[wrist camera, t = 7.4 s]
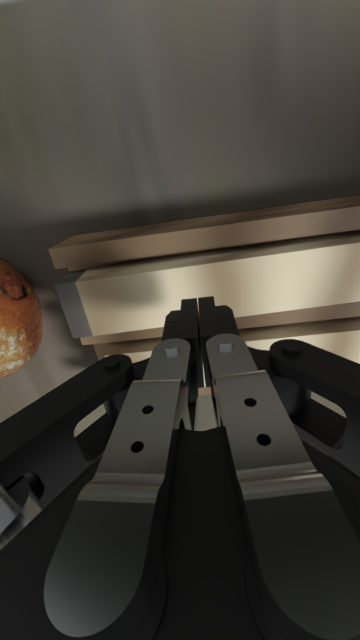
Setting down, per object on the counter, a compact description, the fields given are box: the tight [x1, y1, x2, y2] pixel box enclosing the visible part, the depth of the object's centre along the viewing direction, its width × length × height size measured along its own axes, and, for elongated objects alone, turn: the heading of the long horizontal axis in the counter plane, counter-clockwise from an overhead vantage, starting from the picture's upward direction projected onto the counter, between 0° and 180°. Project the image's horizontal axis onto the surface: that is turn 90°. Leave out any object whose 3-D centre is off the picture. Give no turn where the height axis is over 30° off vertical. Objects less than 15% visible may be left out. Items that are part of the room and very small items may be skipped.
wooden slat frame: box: [48, 195, 360, 396], centre depth 19 cm, size 22×12×5 cm, turn 98°
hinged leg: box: [54, 230, 360, 339], centre depth 16 cm, size 20×3×2 cm, turn 98°
